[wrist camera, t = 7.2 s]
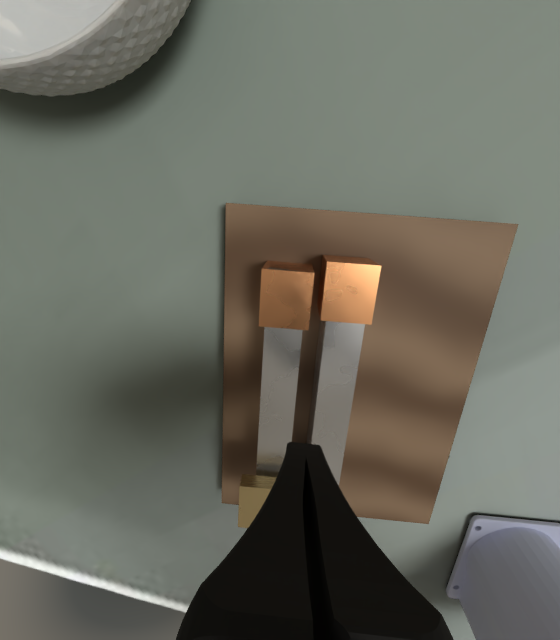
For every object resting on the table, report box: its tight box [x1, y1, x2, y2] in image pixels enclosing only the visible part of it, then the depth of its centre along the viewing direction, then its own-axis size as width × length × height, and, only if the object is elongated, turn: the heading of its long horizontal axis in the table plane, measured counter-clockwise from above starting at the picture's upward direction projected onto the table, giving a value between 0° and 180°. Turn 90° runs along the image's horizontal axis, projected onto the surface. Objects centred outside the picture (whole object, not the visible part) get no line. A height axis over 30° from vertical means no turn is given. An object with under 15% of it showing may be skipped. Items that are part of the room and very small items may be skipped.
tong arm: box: [306, 255, 381, 486], centre depth 19 cm, size 18×3×3 cm, turn 176°
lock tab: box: [238, 474, 277, 528], centre depth 19 cm, size 3×4×1 cm
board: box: [222, 203, 518, 524], centre depth 21 cm, size 22×16×2 cm
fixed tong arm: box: [256, 261, 315, 477], centre depth 19 cm, size 19×7×3 cm, turn 176°
